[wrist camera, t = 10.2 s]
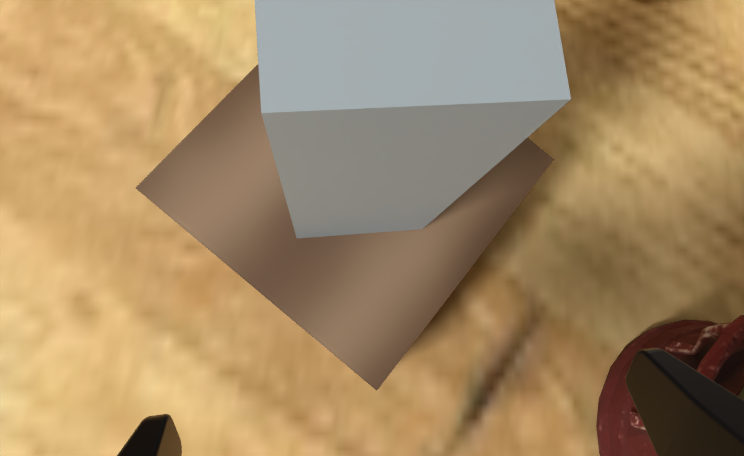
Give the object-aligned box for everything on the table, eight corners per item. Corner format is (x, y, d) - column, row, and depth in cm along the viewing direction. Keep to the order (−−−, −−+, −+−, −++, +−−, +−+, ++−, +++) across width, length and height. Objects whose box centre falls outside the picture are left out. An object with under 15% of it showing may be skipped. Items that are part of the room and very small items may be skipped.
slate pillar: (422, 228, 20) (571, 99, 8) (296, 238, 19) (261, 112, 8) (409, 111, 21) (527, -160, 9) (288, 117, 20) (245, -166, 8)
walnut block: (517, 184, 25) (553, 159, 21) (366, 378, 22) (376, 390, 19) (334, 36, 25) (336, -16, 21) (166, 210, 23) (135, 187, 19)
